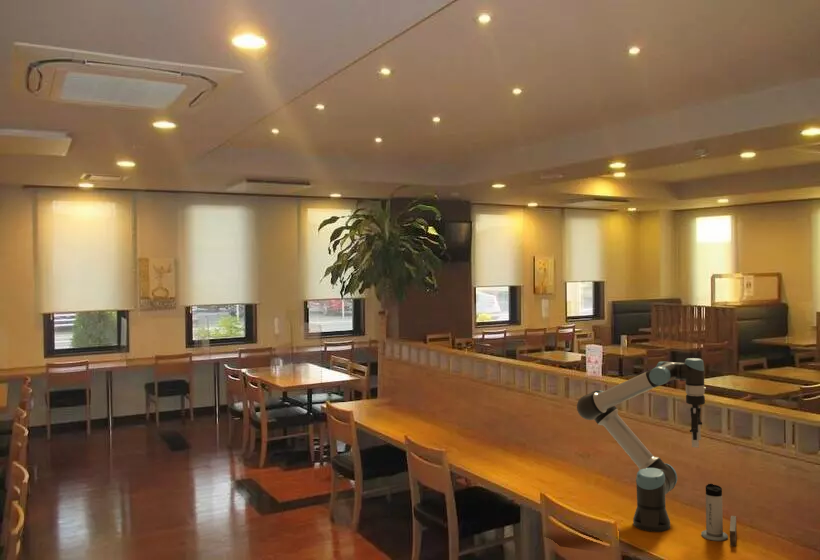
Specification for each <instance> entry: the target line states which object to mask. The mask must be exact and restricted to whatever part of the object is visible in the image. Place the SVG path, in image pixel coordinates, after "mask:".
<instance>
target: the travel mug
mask: <svg viewBox="0 0 820 560" xmlns="http://www.w3.org/2000/svg"><path fill="white" fill-rule="evenodd" d="M722 488H723V487H721V486H720V485H717V484H713V483H707V484H706V485H705V524H706V525H705V526H706V527H705V530H706V533H707V534H708V535H709V536H712V537H721V536H723V532H724V530H723V529H724V527H723V526H724V522H723V520H724V519H723V489H722Z"/></svg>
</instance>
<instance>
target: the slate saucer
mask: <svg viewBox="0 0 820 560" xmlns="http://www.w3.org/2000/svg"><path fill="white" fill-rule="evenodd" d="M700 533H701V534H700V535H701V537H702V538H704V539H706V540H708V541H713V542H724V541H726V540H728V539H729V535H728V534H727V533H726V532H724V531H723V536H721V537H712V536H709V535H708V534H707V533H706V529H705V530H702V531H701V532H700Z"/></svg>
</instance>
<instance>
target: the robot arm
mask: <svg viewBox="0 0 820 560" xmlns="http://www.w3.org/2000/svg"><path fill="white" fill-rule="evenodd" d="M673 380H679V381H685V393H686V394H685V403H686V404H687V405H691V407H690V418H691V426H690V428H691V429H689V433H691V448H698V449H699V448H700V442H699V441H701V440H702V434H701V433H702V432H701V431H702V430H701V426H702V425H703V422H702V420H701V411H702V408H701V405H704V404H706V400H705V399H706V398H705V390H706V389H707V387H706V386H705V364H704V360H703V358H702V359H701V358H696V357H695V358H694V357H692V358H691V357H690V358H689V357H688V358H686V359H685V360H684V362H673V361H658V363H657V364H656V366H655V367H653V368H652V369H650V370H648V371H645V372H643V373H641V374H638V375H636V376H634V377H632V378H630V379H627V380H625V381H623V382H621V383H619V384H616V385H615V386H612V387H609V388H608V389H606V390H595V391H592V392H589V393H587V394H584V395H583V396H581V397H580V398H579V399H578V401H577V402H576V411H577V412H578V415H579V416H580V417H581V418H583V420H584V419H585V420H588V421H594V422H595V423H597V425H598V426H603V427H604V428H605V430H607V432H608V433H609V434H610V436H612V438H613V439H614V440H615V441H616V442H617V444H618V445H619V446H620V447H621V449H623V451H624V452H625V453H626V455H628V457H629V458H630V459H631V461H632V462H633V463H634V464H635V465H636V466H637V468H638V471H637V472H636V478H635V482H636V483H635V484H636V508H635V511H634V515H633V518H632V519H633V526H634V527H635V526H636V527H635V528H637V529H639V530H641V531H645V530H646V532H652V531H655V532H654V533H656V532H658V533H660V532H666V531H669V529H671V519H670V517H669V514H668V512H667V509H666V495H667V494H668V493H670V492H671V491H672V490H673V489H674V488H675V486H676V484H677V482H678V474H677V471H676V470H675V468H674V467H673V466H672V465H671V464H669V463H665V462H664V461H663V460H662V459H661V458H660V457H659V456H655V455H653V453H652V452H651V451H650V450H649V449H648V448H647V447H646V445H645V444H644V443H643V442H642V441H641V440H640V438H639V437H638V435H636V434H635V432H633V430H632V429H631V428H630V426H629V425H627V423H626V422H625V421H624V419H622V417H621V416H620V415H619V414H618V413H619V409H618V407H617V405H618V404H622V403H624V402H626V401H628V400H630V399H633V398H635V397H637V396H640V395H641V394H644V393H646V392H648V391H651V390H653V389H655V388H657V387H660V386H662V385H665V384H667V383H669V382H671V381H673Z"/></svg>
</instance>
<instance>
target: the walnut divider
mask: <svg viewBox="0 0 820 560" xmlns="http://www.w3.org/2000/svg"><path fill="white" fill-rule="evenodd" d="M736 545H737V516H736V515H730V523H729V546H730V547H737V546H736Z"/></svg>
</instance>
